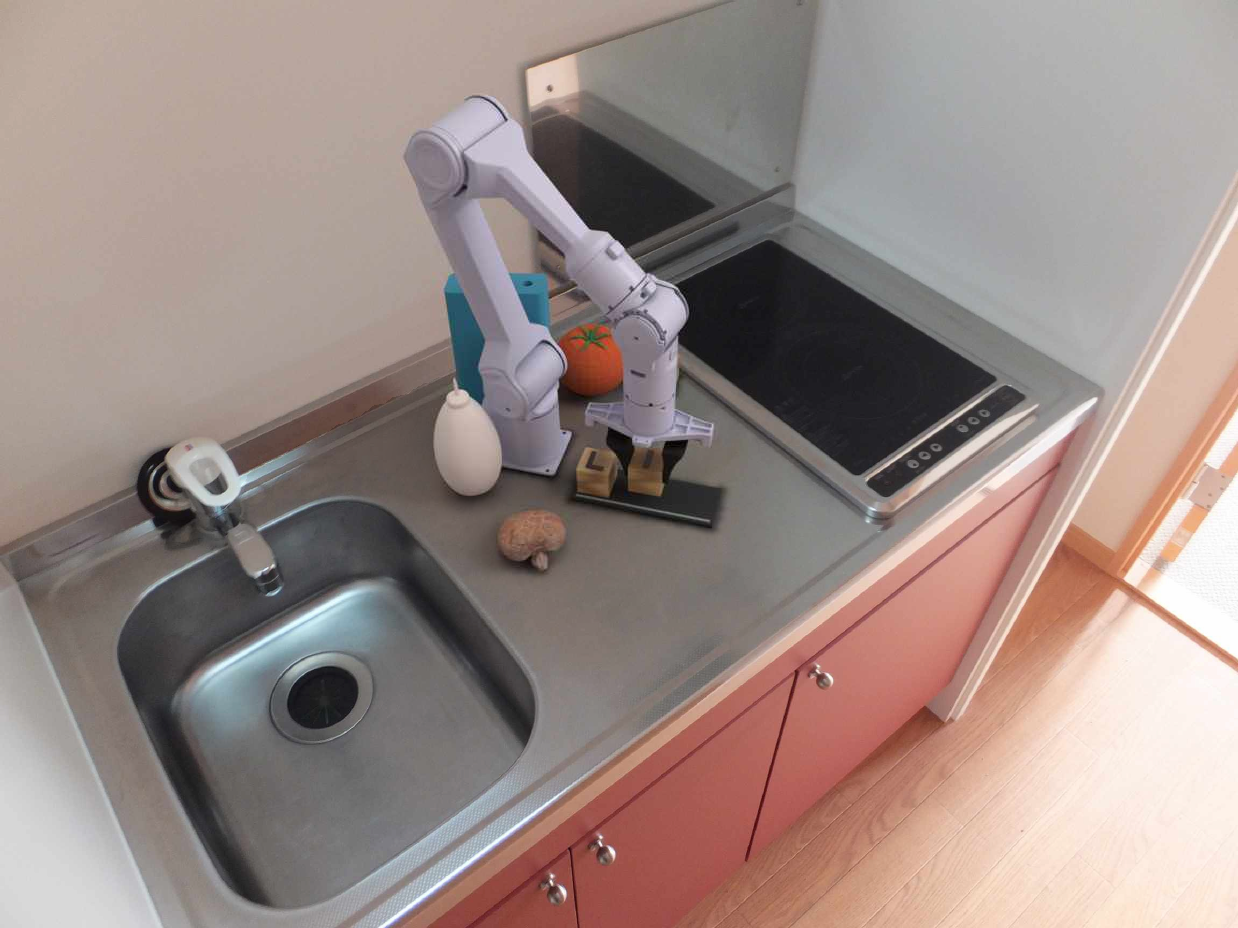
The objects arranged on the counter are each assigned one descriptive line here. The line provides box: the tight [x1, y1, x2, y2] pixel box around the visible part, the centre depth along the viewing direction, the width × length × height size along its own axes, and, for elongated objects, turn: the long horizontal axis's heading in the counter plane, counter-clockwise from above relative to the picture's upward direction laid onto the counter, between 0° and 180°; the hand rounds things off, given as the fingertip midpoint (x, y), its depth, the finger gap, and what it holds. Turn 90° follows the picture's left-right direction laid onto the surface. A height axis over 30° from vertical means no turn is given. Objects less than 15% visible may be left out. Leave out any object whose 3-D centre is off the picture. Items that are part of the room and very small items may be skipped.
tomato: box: [556, 322, 623, 397], centre depth 118 cm, size 10×10×10 cm
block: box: [443, 272, 552, 407], centre depth 111 cm, size 12×5×20 cm, turn 88°
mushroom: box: [497, 509, 567, 572], centre depth 100 cm, size 8×6×8 cm
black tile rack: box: [571, 468, 722, 529], centre depth 107 cm, size 17×6×1 cm, turn 75°
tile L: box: [575, 446, 618, 498], centre depth 107 cm, size 4×4×4 cm
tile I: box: [628, 446, 664, 497], centre depth 104 cm, size 4×4×4 cm
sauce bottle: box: [433, 377, 502, 497], centre depth 102 cm, size 8×8×18 cm
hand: (647, 474), depth 105 cm, fingers closed on tile I, 4 cm apart
